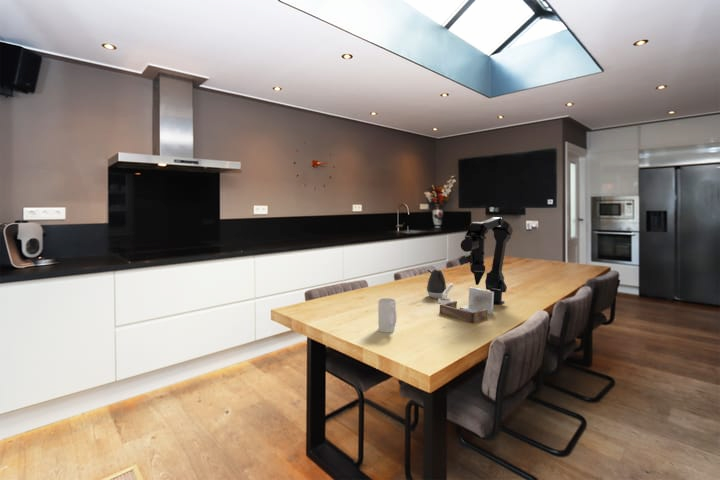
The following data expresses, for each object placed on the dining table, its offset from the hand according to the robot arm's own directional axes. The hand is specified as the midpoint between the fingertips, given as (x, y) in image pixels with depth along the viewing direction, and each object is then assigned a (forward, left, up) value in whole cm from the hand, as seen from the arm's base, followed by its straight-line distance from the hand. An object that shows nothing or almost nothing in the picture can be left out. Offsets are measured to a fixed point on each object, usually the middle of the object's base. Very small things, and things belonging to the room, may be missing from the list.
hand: (476, 282), depth 172 cm
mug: (+52, -5, -14) cm, 54 cm away
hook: (0, -18, -14) cm, 22 cm away
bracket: (+2, +1, -13) cm, 14 cm away
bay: (+12, +1, -13) cm, 18 cm away
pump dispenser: (-4, -27, -14) cm, 30 cm away
